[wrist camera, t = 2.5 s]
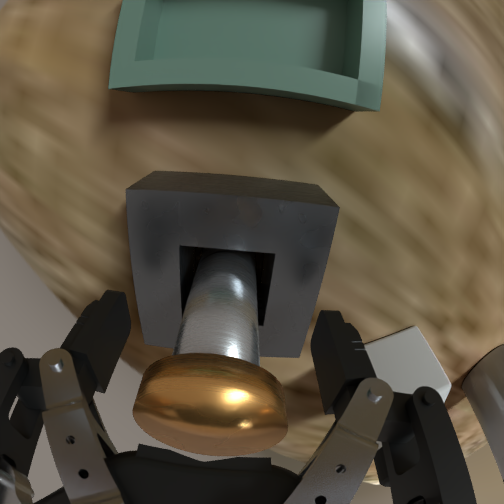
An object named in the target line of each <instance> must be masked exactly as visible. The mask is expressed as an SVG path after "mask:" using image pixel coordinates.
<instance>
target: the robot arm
mask: <svg viewBox="0 0 504 504" xmlns="http://www.w3.org/2000/svg"><path fill="white" fill-rule="evenodd" d="M130 329H131V320H130V315H129V310H128V305H127V300H126V295H125V293H124V292H119V291H112V290H107V291H106V292H105V293H104V294H103V296H102V297H101V299H100V300H99V301H98V300H95V301H93V302H92V303H91V304H89V305H88V306H87V307H86V308H85V310H84V311H83V313H82V314H81V317H79V319H78V320H77V323H76V324H75V325H74V326H73V328H72V329H71V331H70V333H69V334H68V336H67V337H66V339H65V341H64V342H63V344H62V345H61V347H60V348H56V349H52V350H49V351H47V352H46V353H45V354H44V355H43V356H42V357H41V358H40V359H38V358H24V356H23V354H22V352H21V351H20V350H19V349H17V348H7V349H5V350H4V351H2V352H1V353H0V504H350V502H351V500H352V499H353V497H354V495H355V493H356V492H357V490H358V488H359V486H360V484H361V483H362V481H363V479H364V477H365V475H366V473H367V471H368V469H369V467H370V465H371V463H372V461H373V459H374V457H375V455H376V452H377V450H378V446H379V444H378V443H376V441H380V442H381V443H382V447H383V452H384V456H385V461H386V466H387V471H388V476H389V482H390V487H391V493H392V499H393V504H477V503H476V498H475V494H474V490H473V486H472V482H471V479H470V475H469V472H468V468H467V465H466V462H465V459H464V456H463V453H462V450H461V447H460V444H459V441H458V438H457V435H456V432H455V430H454V427H453V424H452V422H451V419H450V417H449V414H448V412H447V409H446V407H445V404H444V402H443V400H442V397H441V395H440V394H439V393H438V392H437V391H436V390H435V389H433V388H431V387H428V386H422V387H419V388H417V389H416V390H415V391H414V393H413V394H407V393H400V392H395V391H393V390H392V388H391V387H390V386H389V384H388V383H386V382H385V381H383V380H381V379H379V378H377V376H376V373H375V371H374V368H373V366H372V363H371V361H370V358H369V356H368V354H367V351H366V350H365V346H364V344H363V343H362V339H361V337H360V335H359V332H358V331H357V330H356V329H355V328H354V327H353V326H352V325H351V323H345V322H344V320H343V317H342V315H341V313H340V311H330V310H321V311H320V313H319V316H318V319H317V322H316V326H315V329H314V332H313V335H312V338H311V353H312V357H313V362H314V366H315V371H316V375H317V380H318V384H319V389H320V393H321V398H322V403H323V407H324V412H325V415H327V414H335V419H336V420H335V422H334V423H333V425H332V426H331V428H330V430H329V431H328V433H327V434H326V436H325V437H324V439H323V441H322V442H321V444H320V445H319V447H318V448H317V450H316V451H315V453H314V454H313V455H312V457H311V458H310V459H309V461H308V462H307V463H306V465H305V466H304V467H303V469H302V470H301V471H300V472H299V474H298V475H297V474H295V473H293V472H292V471H290V470H287V469H285V468H282V467H279V466H276V465H271V458H250V457H249V458H248V457H236V458H229V459H223V460H215V461H209V462H208V461H207V462H202V461H198V460H195V459H192V458H190V457H187V456H184V455H181V454H179V453H176V452H174V451H171V450H168V449H162V448H157V447H152V446H147V445H143V444H139V445H138V449H137V451H127V452H123V453H118V452H117V450H116V448H115V446H114V445H113V443H112V441H111V440H110V438H109V436H108V433H107V431H106V429H105V427H104V424H103V422H102V419H101V417H100V414H99V412H98V409H97V406H96V404H95V401H94V399H93V395H94V393H95V391H97V392H101V393H105V392H106V389H107V386H108V384H109V381H110V379H111V376H112V374H113V371H114V369H115V366H116V364H117V362H118V359H119V357H120V354H121V352H122V350H123V347H124V345H125V343H126V341H127V338H128V336H129V333H130ZM462 389H463V391H464V393H465V395H466V397H467V399H468V401H469V403H470V405H471V407H472V409H473V411H474V413H475V415H476V417H477V419H478V421H479V423H480V425H481V427H482V430H483V432H484V434H485V436H486V438H487V441H488V443H489V445H490V448H491V450H492V453H493V455H494V457H495V460H496V463H497V465H498V468H499V470H500V473H501V476H502V478H503V482H504V345H501V346H499V347H498V348H496V349H494V350H493V351H492V352H490V353H489V354H488V355H487V356H486V357H484V358H483V359H482V360H481V361H480V362H479V363H478V364H477V365H476V366H475V367H474V368H473V369H472V371H471V372H470V373H469V374H468V376H467V377H466V378H465V380H464V382H463V384H462ZM16 396H17V397H18V398H19V399H18V401H17V404H16V406H15V408H14V410H13V413H12V415H11V418H10V420H9V417H8V416H9V411H10V409H11V407H12V405H13V402H14V400H15V398H16ZM43 424H44V426H45V430H46V434H47V438H48V441H49V445H50V448H51V452H52V455H53V458H54V461H55V464H56V467H57V470H58V473H59V475H60V478H61V481H62V483H63V487H62V488H60V489H58V490H57V491H55V492H53V493H51V494H50V495H48V496H46V497H45V498H43V499H41V500H39V501H37V502H35V503H33V502H32V498H33V497H34V491H33V489H32V488H31V484H30V482H29V480H28V478H27V477H28V474H29V470H30V466H31V462H32V458H33V455H34V452H35V449H36V445H37V442H38V439H39V436H40V433H41V430H42V427H43Z"/></svg>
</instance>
